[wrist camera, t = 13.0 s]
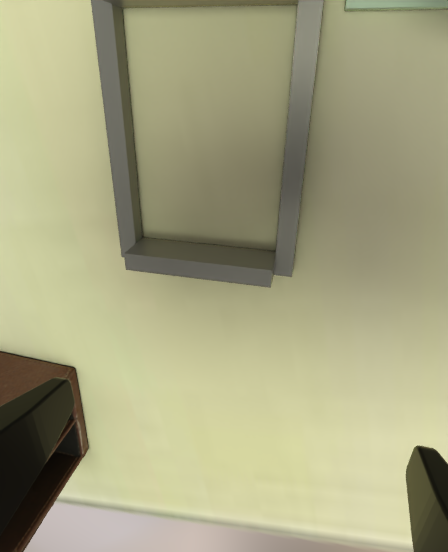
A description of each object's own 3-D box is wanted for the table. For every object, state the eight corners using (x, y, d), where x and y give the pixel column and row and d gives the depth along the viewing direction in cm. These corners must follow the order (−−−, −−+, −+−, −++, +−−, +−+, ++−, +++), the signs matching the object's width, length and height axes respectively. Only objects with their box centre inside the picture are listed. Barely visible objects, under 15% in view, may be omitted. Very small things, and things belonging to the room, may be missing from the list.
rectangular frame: (327, -27, 15) (328, -45, 13) (292, 269, 21) (289, 289, 19) (99, -19, 17) (67, -34, 15) (129, 250, 23) (109, 267, 21)
